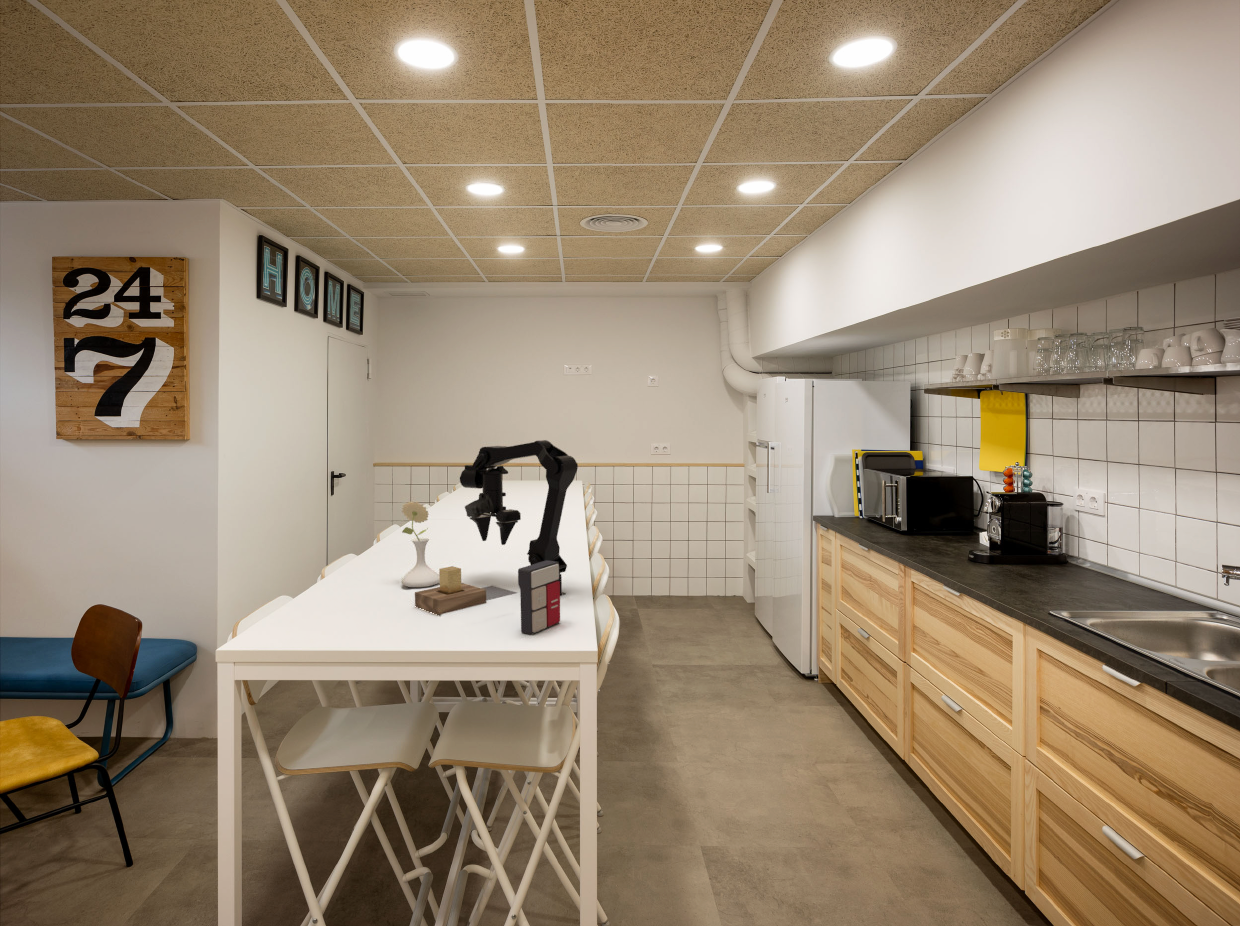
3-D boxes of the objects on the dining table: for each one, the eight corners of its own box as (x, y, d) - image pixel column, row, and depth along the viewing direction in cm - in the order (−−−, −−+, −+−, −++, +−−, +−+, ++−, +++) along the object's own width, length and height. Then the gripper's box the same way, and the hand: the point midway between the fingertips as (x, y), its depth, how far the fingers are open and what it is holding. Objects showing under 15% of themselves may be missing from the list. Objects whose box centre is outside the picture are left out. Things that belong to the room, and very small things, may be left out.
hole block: (486, 604, 182) (486, 589, 182) (440, 616, 172) (439, 600, 172) (460, 596, 190) (460, 582, 190) (415, 607, 180) (414, 592, 180)
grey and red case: (533, 635, 156) (532, 570, 155) (518, 632, 158) (517, 568, 157) (562, 623, 165) (561, 561, 164) (548, 620, 168) (547, 559, 167)
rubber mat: (517, 594, 192) (517, 592, 192) (482, 603, 183) (481, 601, 183) (492, 587, 200) (492, 585, 200) (456, 595, 192) (456, 593, 191)
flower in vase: (449, 584, 204) (447, 500, 203) (419, 592, 195) (417, 505, 193) (419, 578, 211) (417, 498, 210) (389, 586, 202) (386, 502, 200)
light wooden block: (461, 605, 181) (460, 568, 180) (448, 609, 178) (447, 571, 177) (453, 603, 184) (452, 566, 183) (440, 606, 181) (439, 568, 180)
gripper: (450, 489, 199) (451, 542, 200) (489, 494, 186) (490, 551, 188) (482, 486, 207) (483, 537, 208) (521, 490, 195) (522, 545, 196)
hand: (493, 542), depth 200 cm, fingers open, 9 cm apart
